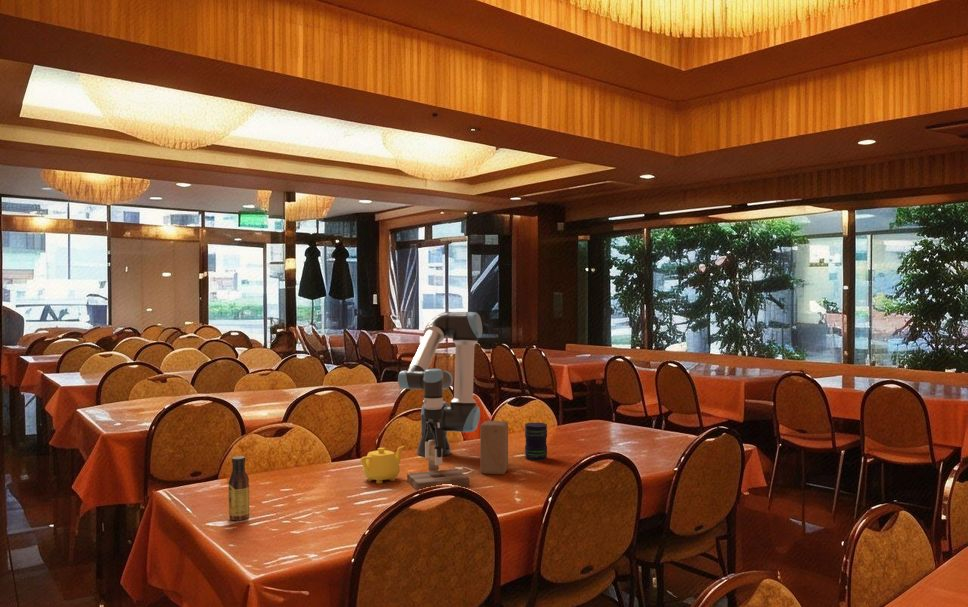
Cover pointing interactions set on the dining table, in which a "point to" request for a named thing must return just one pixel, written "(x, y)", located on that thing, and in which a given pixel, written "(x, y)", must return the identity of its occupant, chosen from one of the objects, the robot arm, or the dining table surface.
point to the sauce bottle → (238, 490)
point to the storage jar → (536, 441)
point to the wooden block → (494, 447)
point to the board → (437, 478)
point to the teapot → (381, 465)
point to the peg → (432, 456)
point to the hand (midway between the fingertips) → (433, 461)
